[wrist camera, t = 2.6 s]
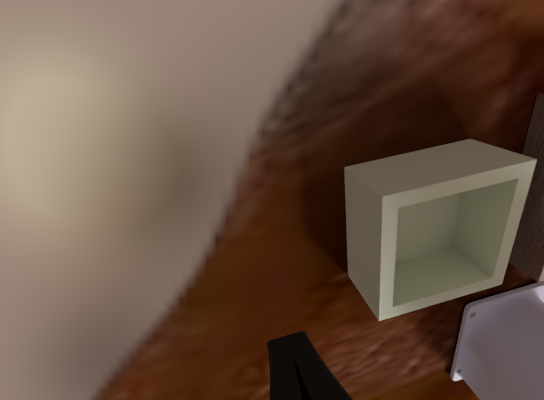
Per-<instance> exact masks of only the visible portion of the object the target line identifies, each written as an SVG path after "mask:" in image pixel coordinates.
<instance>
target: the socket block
mask: <svg viewBox="0 0 544 400" xmlns="http://www.w3.org/2000/svg"><path fill="white" fill-rule="evenodd" d="M536 162H537V159H535V158H531V157H528V156H525V155H522V154H518V153H515V152H512V151H509V150H505V149H502V148H499V147H496V146H492V145H489V144H486V143H483V142H479V141H476V140H473V139H467V140H463V141H458V142H454V143H449V144H445V145H440V146H436V147H432V148H427V149H423V150H418V151H414V152H409V153H405V154H400V155H396V156H392V157H387V158H383V159H378V160H374V161H369V162H365V163H360V164H356V165H351V166H347V167H344V174H345V202H346V230H347V258H348V276H349V277H350V279H351V280H352V282H353V283H354V285H355V286H356V288H357V289H358V291H359V292H360V294H361V295H362V297H363V298H364V300H365V301H366V303H367V304H368V306H369V307H370V309H371V310H372V311H373V313H374V314H375V316H376V317H377V319H378V320H379V321H381V320H384V319H388V318H391V317H395V316H398V315H401V314H405V313H408V312H411V311H415V310H418V309H421V308H425V307H428V306H431V305H435V304H438V303H441V302H445V301H448V300H452V299H455V298H458V297H462V296H465V295H468V294H472V293H475V292H478V291H482V290H485V289H488V288H492V287H495V286H498V285H502V282H503V279H504V275H505V272H506V268H507V265H508V261H509V258H510V254H511V250H512V247H513V243H514V240H515V236H516V233H517V229H518V226H519V222H520V219H521V215H522V211H523V208H524V204H525V201H526V197H527V194H528V190H529V187H530V183H531V180H532V176H533V173H534V169H535V165H536Z"/></svg>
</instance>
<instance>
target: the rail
mask: <svg viewBox="0 0 544 400" xmlns="http://www.w3.org/2000/svg"><path fill="white" fill-rule="evenodd" d="M522 155H525V156H528V157H531V158H535V159H537V162H536V165H535V169H534V173H533V176H532V180H531V183H530V187H529V190H528V194H527V197H526V201H525V204H524V208H523V211H522V215H521V219H520V222H519V226H518V229H517V233H516V236H515V240H514V243H513V247H512V250H511V254H510V258H509V261H508V262H509V263H510V264H512V265H513V266H515V267H516V268H518V269H519V270H521V271H522V272H524V273H525V274H526V275H528V276H529V277H531V278H532V279H534V280H535V281H537V282H541V281H544V93H540V94H537V98H536V102H535V105H534V109H533V113H532V117H531V121H530V125H529V129H528V133H527V137H526V141H525V144H524V148H523V152H522Z"/></svg>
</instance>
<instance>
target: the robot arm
mask: <svg viewBox="0 0 544 400" xmlns="http://www.w3.org/2000/svg"><path fill="white" fill-rule="evenodd" d="M267 347H268V353H269V363H270V400H353V399H352V398H351V397H350V396H349V395H348V393H347V392H346V391H345V390H344V388H343V387H342V386H341V384H340V383H339V382H338V381H337V379H336V378H335V377H334V375H333V374H332V373H331V371H330V370H329V369H328V367H327V366H326V365H325V363H324V362H323V360H322V359H321V357H320V356H319V354H318V353H317V351H316V350H315V348H314V347H313V345H312V343H311V342H310V340H309V338H308V336H307V334H306V332H303V331H301V332H297V333H294V334H290V335H287V336H284V337H280V338H277V339H273V340H270V341H269V342H268V343H267ZM450 377H451V379H452V380H453V381H458V380H461V379H464V381H465V382H466V383H467V384H468V386H469V387H470V388H471V389H472V391H473V392H474V393H475V394H476V396H477V397H478V398H479V399H480V400H544V281H541V282H537V283H534V284H531V285H527V286H524V287H521V288H517V289H514V290H511V291H507V292H504V293H501V294H497V295H494V296H491V297H487V298H484V299H481V300H477V301H474V302H471V303H469V304H467V305H466V306H465V309H464V313H463V318H462V322H461V327H460V332H459V336H458V341H457V345H456V350H455V355H454V359H453V364H452V368H451V373H450Z"/></svg>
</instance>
